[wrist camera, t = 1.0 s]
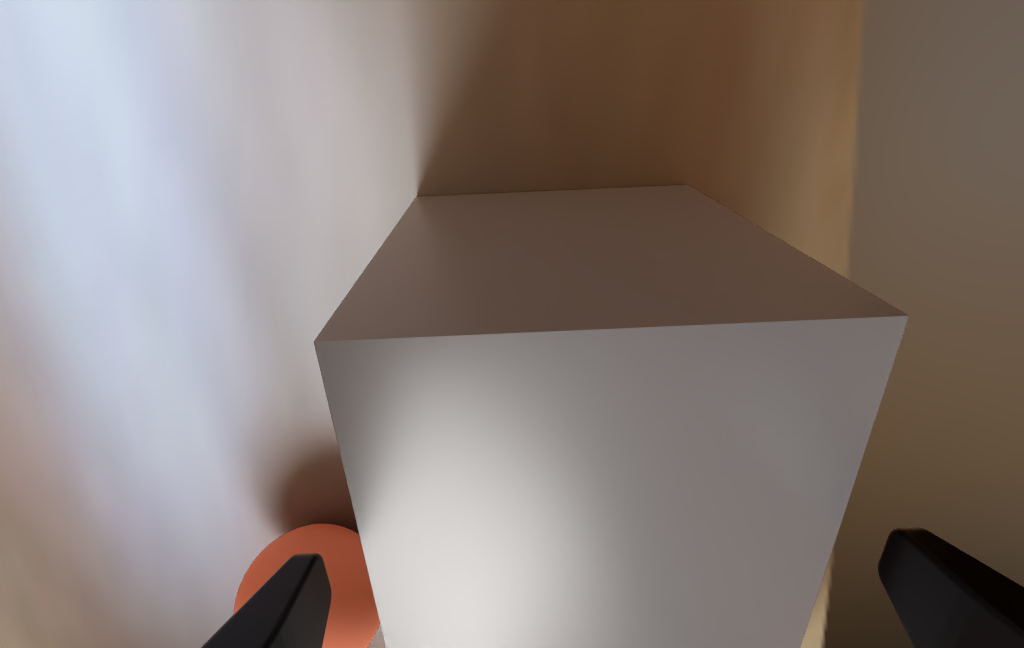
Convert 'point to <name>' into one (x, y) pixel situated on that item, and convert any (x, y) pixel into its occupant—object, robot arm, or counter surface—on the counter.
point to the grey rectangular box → (600, 420)
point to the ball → (347, 574)
